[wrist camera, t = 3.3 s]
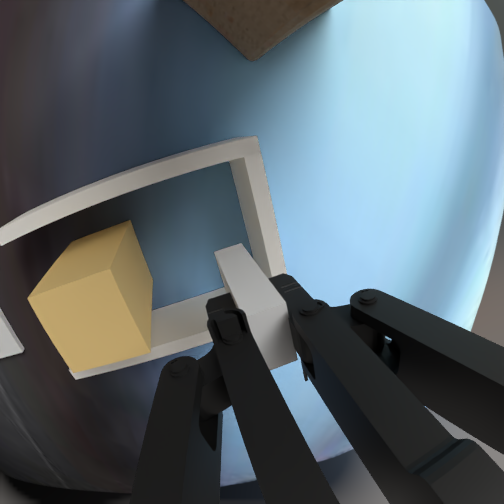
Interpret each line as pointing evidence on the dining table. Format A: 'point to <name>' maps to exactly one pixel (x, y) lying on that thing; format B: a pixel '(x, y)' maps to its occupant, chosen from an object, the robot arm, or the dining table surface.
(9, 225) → the white u-shaped frame
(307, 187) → the dining table surface
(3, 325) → the tile
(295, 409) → the dining table surface
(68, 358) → the block
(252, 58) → the wooden block
